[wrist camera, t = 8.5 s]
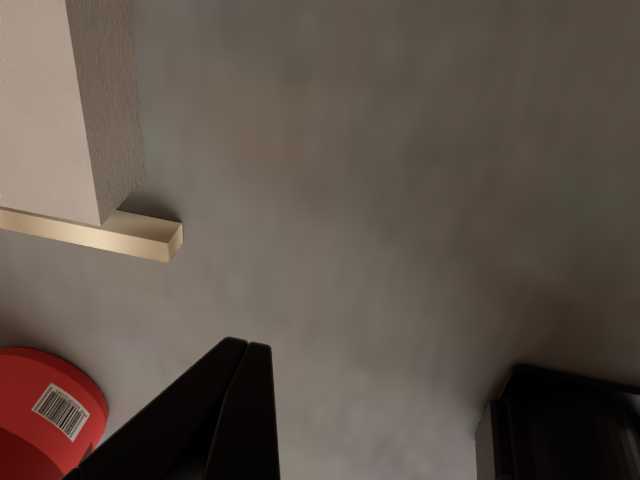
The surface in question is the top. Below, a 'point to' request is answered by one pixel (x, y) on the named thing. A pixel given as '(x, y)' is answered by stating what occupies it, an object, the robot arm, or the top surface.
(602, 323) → the top surface
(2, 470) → the canned food
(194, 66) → the top surface
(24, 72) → the white flat block
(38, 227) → the birch dock
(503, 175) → the top surface
